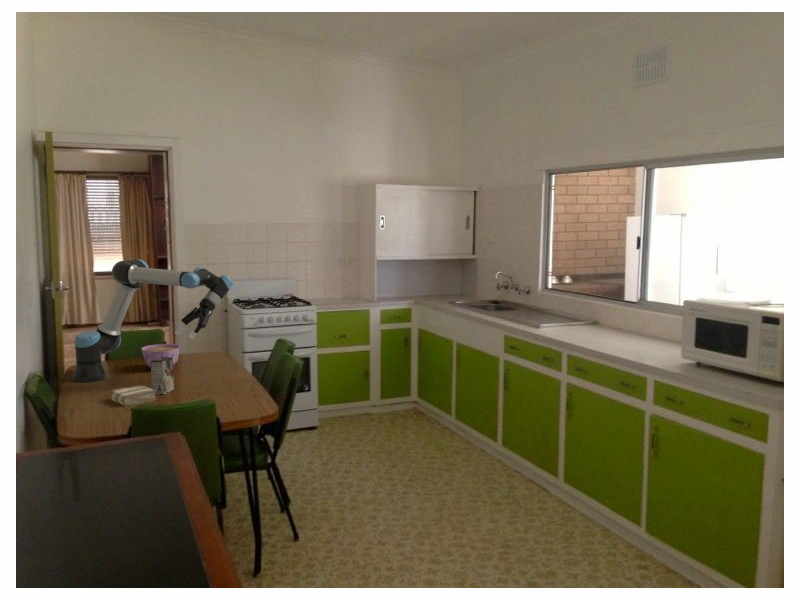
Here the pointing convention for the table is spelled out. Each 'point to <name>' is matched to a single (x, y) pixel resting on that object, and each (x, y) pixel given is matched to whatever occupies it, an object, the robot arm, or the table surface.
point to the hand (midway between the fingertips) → (183, 336)
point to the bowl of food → (160, 352)
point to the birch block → (133, 395)
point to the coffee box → (162, 375)
